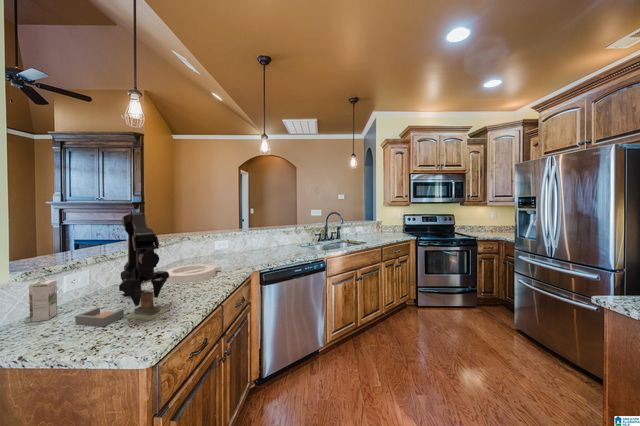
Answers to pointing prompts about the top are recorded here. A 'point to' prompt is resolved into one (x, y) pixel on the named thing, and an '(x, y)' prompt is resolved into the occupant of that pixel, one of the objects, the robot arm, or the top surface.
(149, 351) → the top surface
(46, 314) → the syrup box
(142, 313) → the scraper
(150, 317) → the mat
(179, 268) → the white circle with bar
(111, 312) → the tile
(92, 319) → the bay
